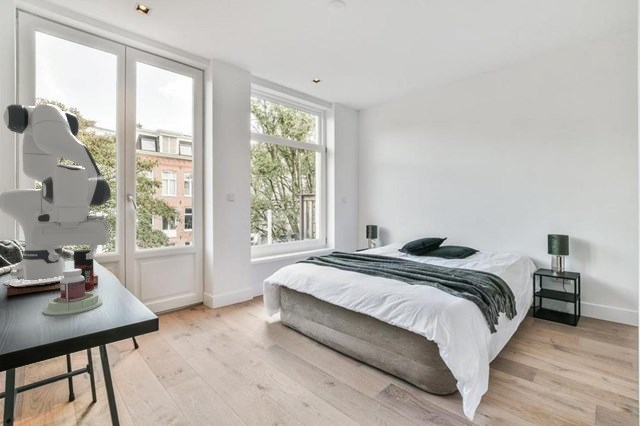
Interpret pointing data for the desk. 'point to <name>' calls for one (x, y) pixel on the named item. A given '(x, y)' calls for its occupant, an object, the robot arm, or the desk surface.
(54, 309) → the dish
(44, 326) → the desk surface
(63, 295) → the pill bottle
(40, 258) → the robot arm
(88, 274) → the deodorant
